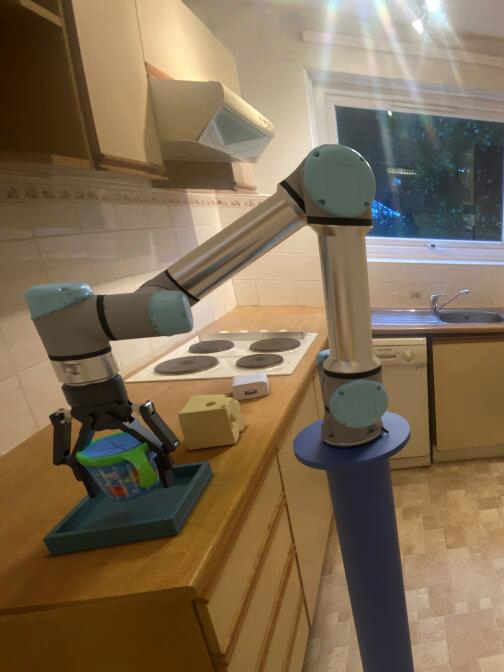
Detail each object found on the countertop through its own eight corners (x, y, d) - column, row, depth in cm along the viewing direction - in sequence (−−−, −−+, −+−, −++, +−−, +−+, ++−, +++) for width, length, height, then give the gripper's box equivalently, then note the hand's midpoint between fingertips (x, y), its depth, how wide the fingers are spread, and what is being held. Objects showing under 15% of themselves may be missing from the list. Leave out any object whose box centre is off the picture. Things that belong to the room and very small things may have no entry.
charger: (268, 378, 144) (269, 395, 132) (235, 383, 140) (234, 401, 128) (265, 365, 142) (266, 380, 130) (232, 370, 138) (230, 386, 126)
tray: (213, 474, 93) (209, 460, 92) (177, 534, 76) (171, 518, 75) (112, 488, 88) (106, 474, 87) (51, 555, 71) (42, 539, 70)
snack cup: (82, 491, 80) (61, 443, 76) (150, 464, 88) (134, 420, 85) (115, 522, 72) (93, 471, 69) (186, 490, 81) (170, 443, 77)
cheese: (246, 425, 114) (237, 390, 110) (236, 445, 104) (226, 408, 100) (201, 431, 111) (190, 395, 107) (186, 452, 101) (173, 414, 97)
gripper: (-17, 394, 66) (42, 512, 74) (162, 380, 72) (198, 490, 80) (19, 376, 72) (69, 486, 81) (180, 365, 78) (211, 468, 87)
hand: (133, 488), depth 80 cm, fingers closed on snack cup, 11 cm apart
